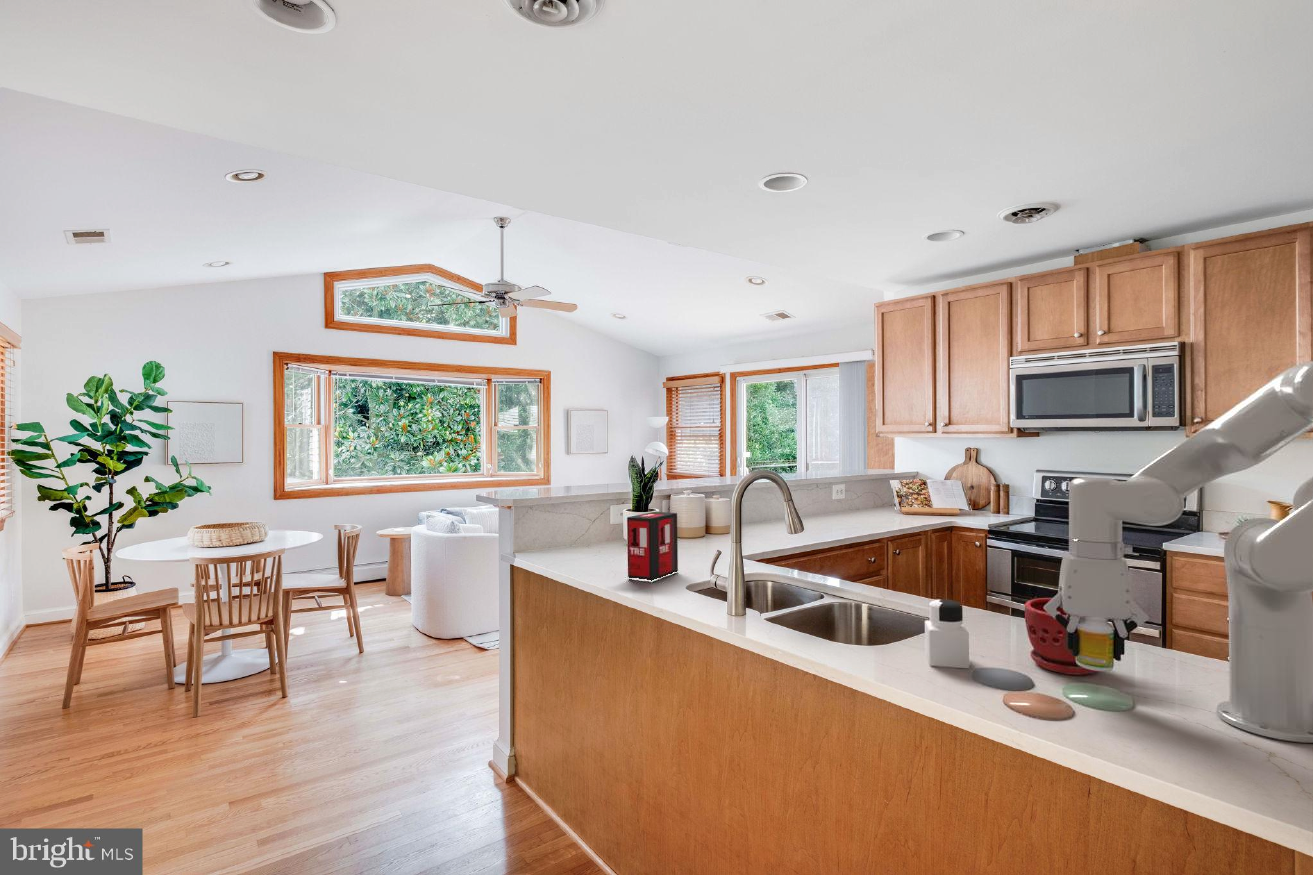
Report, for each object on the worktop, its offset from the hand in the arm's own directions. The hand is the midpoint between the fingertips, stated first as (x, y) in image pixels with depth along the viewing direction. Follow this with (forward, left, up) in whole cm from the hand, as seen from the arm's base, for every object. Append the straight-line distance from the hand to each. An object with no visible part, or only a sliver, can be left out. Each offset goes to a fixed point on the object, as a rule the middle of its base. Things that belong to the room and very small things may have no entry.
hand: (1094, 654), depth 111 cm
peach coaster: (+10, +7, -8) cm, 14 cm away
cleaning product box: (+108, -66, -8) cm, 127 cm away
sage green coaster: (0, 0, -8) cm, 8 cm away
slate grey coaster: (+14, -4, -8) cm, 16 cm away
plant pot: (+2, -15, -8) cm, 17 cm away
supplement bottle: (0, 0, -2) cm, 2 cm away
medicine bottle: (+23, -11, -8) cm, 26 cm away
